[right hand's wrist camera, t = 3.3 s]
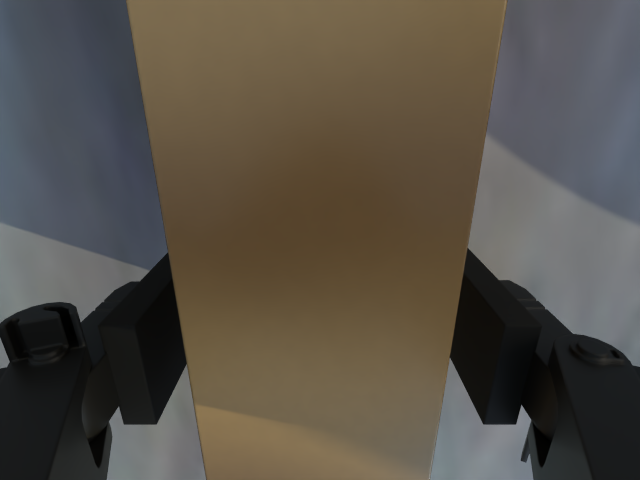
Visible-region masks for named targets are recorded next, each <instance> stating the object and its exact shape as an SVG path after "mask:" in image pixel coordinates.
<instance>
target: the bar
mask: <svg viewBox="0 0 640 480" xmlns="http://www.w3.org/2000/svg"><path fill="white" fill-rule="evenodd" d="M126 4H127V10H128V15H129V21H130V27H131V33H132V39H133V45H134V51H135V57H136V63H137V69H138V75H139V81H140V87H141V93H142V99H143V105H144V111H145V117H146V123H147V129H148V135H149V141H150V147H151V153H152V159H153V165H154V171H155V177H156V183H157V188H158V194H159V200H160V206H161V212H162V218H163V224H164V230H165V236H166V242H167V248H168V254H169V260H170V266H171V272H172V278H173V284H174V290H175V296H176V302H177V308H178V314H179V320H180V326H181V332H182V338H183V344H184V350H185V356H186V361H187V367H188V373H189V379H190V385H191V391H192V397H193V403H194V409H195V415H196V421H197V427H198V433H199V439H200V445H201V451H202V457H203V463H204V469H205V475H206V480H430V476H431V470H432V463H433V457H434V451H435V445H436V439H437V432H438V426H439V420H440V414H441V408H442V402H443V395H444V389H445V383H446V377H447V371H448V365H449V358H450V352H451V346H452V340H453V334H454V327H455V321H456V315H457V309H458V303H459V297H460V290H461V284H462V278H463V272H464V266H465V260H466V253H467V247H468V241H469V235H470V229H471V223H472V216H473V210H474V204H475V198H476V192H477V185H478V179H479V173H480V167H481V161H482V155H483V148H484V142H485V136H486V130H487V124H488V118H489V111H490V105H491V99H492V93H493V87H494V80H495V74H496V68H497V62H498V56H499V50H500V43H501V37H502V31H503V25H504V19H505V13H506V6H507V0H126Z"/></svg>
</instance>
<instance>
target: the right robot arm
mask: <svg viewBox="0 0 640 480" xmlns="http://www.w3.org/2000/svg"><path fill="white" fill-rule="evenodd" d="M0 338H1V340H2V343H3V345H4V348H5V351H6V353H7V356H8V358H9V361H10V363H9V365H8V366H7V367H6V368H1V369H0V480H107V472H108V465H109V457H110V450H111V443H112V432H111V427H110V423H109V420H110V419H111V417H112V416H113V414H114V413H115V411H116V409H117V408H118V406H119V408H120V412H121V415H122V419H123V423H124V424H157V423H158V421H159V419H160V417H161V415H162V413H163V410H164V408H165V406H166V404H167V402H168V400H169V398H170V396H171V394H172V392H173V390H174V388H175V386H176V384H177V382H178V380H179V378H180V376H181V374H182V372H183V370H184V368H185V366H186V364H187V361H186V356H185V350H184V344H183V338H182V332H181V326H180V320H179V314H178V308H177V302H176V296H175V290H174V284H173V278H172V272H171V266H170V260H169V254H168V253H167V254H166V255H165V256H164V257H163V258H162V259H161V260H160V261H159V262H158V263H157V264H156V265H155V266H154V267H153V269H152V270H151V271H150V272H149V273H148V274H147V275H146V276H145V277H144V278H143V279H142V280H141V281H140V282H129V283H127V284H125V285H124V286H122V287H120V288H118V289H116V290H115V291H114V292H112V293H111V294H110V295H109V296H108V297H107V298H106V299H105V300H104V302H102V303H101V304H100V305H99V306H98V307H97V308H96V310H95V311H93V312H91V313H90V314H89V315H88V316H87V317H86V318H85V319H84V320H83V321H82V322H80V319H79V315H78V312H77V308H76V307H75V306H74V305H72V304H71V303H63V302H56V303H46V304H42V305H38V306H33V307H30V308H28V309H25V310H22V311H20V312H17V313H15V314H14V315H12V316H10V317H8V318H7V319H5V320H4V321H3V322H1V323H0ZM450 358H451V360H452V362H453V364H454V366H455V368H456V370H457V372H458V374H459V376H460V378H461V380H462V382H463V384H464V386H465V388H466V390H467V392H468V394H469V396H470V398H471V400H472V402H473V404H474V406H475V408H476V410H477V413H478V415H479V417H480V419H481V421H482V423H483V424H516V423H517V419H518V415H519V411H520V408H521V404H522V406H523V407H524V409H525V411H526V412H527V414H528V415H529V417H530V418H531V423H530V427H529V430H528V434H527V437H526V441H525V444H524V448H523V451H522V456H521V461H523V462H527V458H528V455H529V454H530V456H531V464H532V471H533V478H534V480H640V367H637V366H633V365H632V364H631V362H630V361H629V360H628V358H627V357H626V356H625V355H624V354H623V353H622V352H620V351H619V350H617V349H616V348H614V347H613V346H611V345H609V344H607V343H605V342H603V341H600V340H598V339H595V338H592V337H588V336H584V335H577V334H573V333H571V332H570V331H569V330H568V329H567V328H566V327H565V326H564V325H563V324H562V323H561V322H560V321H559V320H558V319H557V318H556V317H555V316H554V315H552V314H551V313H550V312H549V311H548V310H547V309H545V307H544V306H543V305H542V304H541V303H540V302H539V301H536V298H534V297H533V296H532V295H531V294H530V293H529V292H528V291H527V290H526V289H525V288H523V287H521V286H519V285H517V284H515V283H513V282H512V281H510V280H498V279H497V278H496V277H495V276H494V275H493V274H492V273H491V272H490V271H489V270H488V269H487V267H486V266H485V265H484V264H483V263H482V262H481V261H480V260H479V259H478V258H477V257H476V256H475V255H474V254H473V253H472V252H471V251H470V250H469V249H468V248H467V253H466V260H465V266H464V272H463V278H462V284H461V290H460V297H459V303H458V309H457V315H456V321H455V327H454V334H453V340H452V346H451V352H450Z"/></svg>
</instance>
